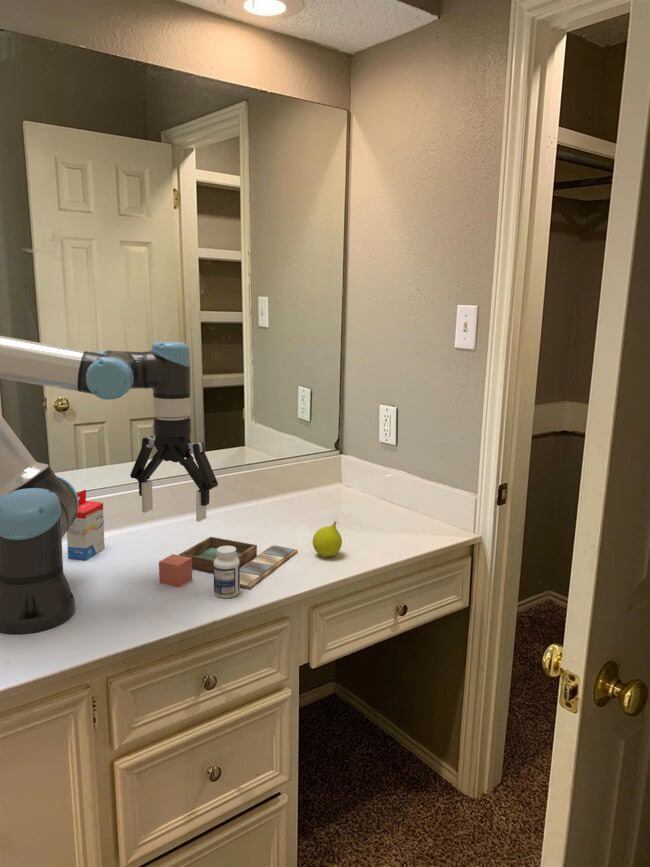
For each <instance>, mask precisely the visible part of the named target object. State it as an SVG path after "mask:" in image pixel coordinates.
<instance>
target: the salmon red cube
mask: <svg viewBox="0 0 650 867" xmlns="http://www.w3.org/2000/svg"><path fill="white" fill-rule="evenodd" d="M158 573H159V574H158V579H159V580H158V581H159V582H158V583H159V584H161V585H165V586H170V587H175V588H181V587H182V586H184V585H185V584H187V583H188V582H190V581H191V580H193V569H192V558H191V557H186V556H180V555H179V554H175V553H171V554H170V555H169V556H167V557H164V558H163V559H161V560H160V561H158Z"/></svg>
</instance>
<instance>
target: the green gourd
mask: <svg viewBox="0 0 650 867" xmlns="http://www.w3.org/2000/svg"><path fill="white" fill-rule="evenodd" d="M337 520H338V519H336V520H334V521H333V523H332V524H331V525H329V526H324V527H321V528H319V529H318V530H316V532H315V533H314V534H313V538H312V547H313V549H314V550H315V552H316V553H317V554H318V555H319V556H322V557H328V558H329V557H333V556H335V555H337V554H338V553H339V551H340V550H341V549H342V545H343V538H342V536H341V534H340V532H339V531H338V529H337Z"/></svg>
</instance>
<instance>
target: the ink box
mask: <svg viewBox="0 0 650 867" xmlns="http://www.w3.org/2000/svg"><path fill="white" fill-rule="evenodd" d="M76 493H77V496H78V511H77V515H76V518H75V520H74V522H73V524H72V525H71V526H70V527H69V528H68V530H67V531H66V541H67V559H72V560H81V561H83V560H84V561H88V560H89V559H90V558H92V557H93V556H95V555H96V554H98V553H100V552H101V551H103V550H105V548H106V546H105V526H104V524H105V523H104V521H105V520H104V518H105V517H104V502H100V501H94V500H93V501H92V500H91V501H90V500H88V501H87V490H86V489H83V490H81V491H79V492H76Z"/></svg>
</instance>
